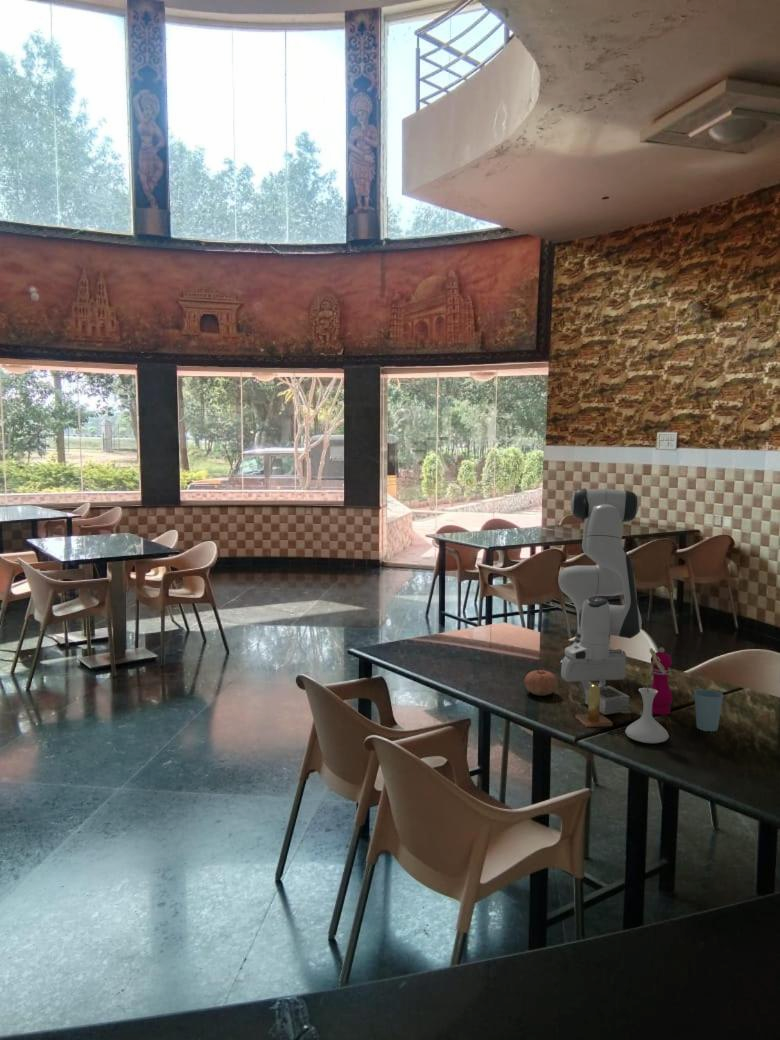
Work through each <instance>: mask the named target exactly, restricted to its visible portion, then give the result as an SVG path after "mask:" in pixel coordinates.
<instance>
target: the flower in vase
mask: <svg viewBox="0 0 780 1040" xmlns="http://www.w3.org/2000/svg"><path fill="white" fill-rule="evenodd" d="M649 653H650V655H651V657H653V659H654V660H653V663H652V664H651V665H650V666H649V669H648V670H647V673H645V677H646V683H644V684H643V685H644V686H645V685H646V687H642V688H641V687H640V688H638V692H639V693H640V694H641V697H642V705H643V709H642V715H641V717H640V718H638V719H637V720H635V721H633V722H632V723H629V725H628V726H627V727H626V729H625V731H624V732H625V734H626V736H627V737H628V738H629V739H632V740H634V741H636V742H639V743H640V742H641V743H644V744H659V743H664V742H666V741H667V740H668V739H669V737H670V736H669V732H668V731H667V729H665V727H663V725H661V724H660V723H659V722H658V721H657V720H656V719H655V718H654V717H653V713H652V703H653V699H654V697H655V695H656V694H657V693H658V691H657V690H655V689H651V688H650V687H649V685H652V683H653V679H652V680H651V678H650V677H649V674H650V671H651V670H652V667H653V664H657V666H658V668H659V669H660V670H661V672H662V673H663V674H665V673H666V671H665V670H664V669H665V668H664V667H663V666H662V664H661V663H660V659H659V658H658V657H657V656H656V651H655V650H654V649H653V647H650V648H649Z"/></svg>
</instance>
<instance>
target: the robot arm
mask: <svg viewBox="0 0 780 1040" xmlns="http://www.w3.org/2000/svg"><path fill="white" fill-rule="evenodd" d="M639 505H640V504H639V499H638V495H637V494H636V493H635V492H633V491H629V490H620V489H614V488H589V489H587V488H579V489H576V490H575V491H574V492H573V495H572V497H571V499H570V510H571V512H572V515H573V516H574V518H576V519H579V520H581V521H582V522H584V523H583V533H582V534H583V535H582V543H581V549H582V552H583V553H584V554H585V555H586V556H587V557H589V558H590V560H591V561H593V562H594V563H595V565H572V566H571V565H570V566H566V567H564V568H562V569H561V570H560V572H559V575H558V578H557V580H558V581H557V582H558V586H559V589H560V590H561V592H562V593H564V594H565V595H566V596H567V597H568V598H569V599H570V600H571V602H572V603H573V606H574V607H575V610H576V616H577V617H576V619H577V631H576V632H575V637H574V642H573V643H572V644H571V645H569V646H566V647H565V648H564V657H563V659H561V660H560V664H561V663H562V664H561V668H560V669H561V670H560V677H561V678H562V679H563V681H565V682H567V683H570V682H579V681H581V682H582V684H583V686H584V688H585V694H586V689H589V687H588V686H587V684H588V681H589V682H591V681H592V682H593V681H594V682H595V681H598V682H599V683H598V685H597V686H599V687H605V686H606V683H607V682H606V681H612V680H613V681H617V680H625V679H626V677H627V666H626V665H627V664H626V660H627V653H626V652H625V651H624V650H622V649H621V648H620V649H619V648H617V649H613V648H612V647H611V646H610V644H611V636H615V637H620V638H625V639H632V638H634V637H635V636H637V635H639V634H640V632H641V630H642V626H643V625H642V624H643V622H642V615H641V613H640V608H639V604H638V603H639V601H638V597H637V596H638V595H637V594H638V593H637V588H636V587H637V586H636V579H635V578H636V577H635V571H634V564H633V561H632V558H631V557H630V555H628V554H627V553H626V552H625V550H624V548H623V543H622V542H623V526H622V525H623V523H627V522H631V521H633V520H634V519H636V516H637V514H638V512H639V509H640V506H639ZM620 595H623V599H624V600H623V601H624V604H621V605H617V604H610V603H609V601H608V600H607V599H606V598H604V597H615V596H620Z"/></svg>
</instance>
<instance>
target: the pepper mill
mask: <svg viewBox="0 0 780 1040" xmlns="http://www.w3.org/2000/svg"><path fill="white" fill-rule="evenodd" d="M655 653H656V656H657V657H658V658H659V659H660V663H661V664H662V666H663V667H664V668H665V669H664V670H665V671H666V673H665V674H663V673H662V672H661V670H660V669H659V668H658V666H657V664H653V666H652V667H651V672H652V674H653V678H652V681H653V683H651V684H650V687H649V688H651V689H655V690H657V691H658V693H657V694H656V695H655V697H654V699H653V703H652V714H654V715H659V716H660V715H663V716H665V715H666V716H667V715H669V714H671V703H672V702H673V693H672V690H671V688H670V685H669V681H668V680H669V679H668V676H669V675H670V667H671V666H672V660H673V659H672V657H671V656H670V655H669V653H667V652H665V648H664V647H662V646H661V647H659V648H658V651H657V652H656V651H655ZM653 660H654V659H653V657H652V656H651V658H650V663H651V665H652V663H653Z"/></svg>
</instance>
